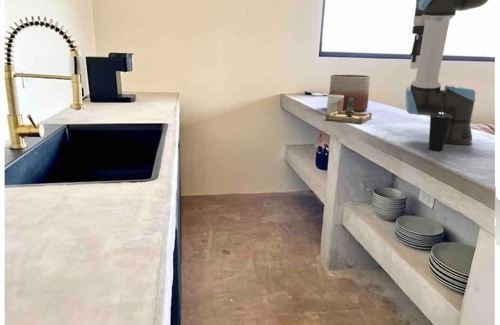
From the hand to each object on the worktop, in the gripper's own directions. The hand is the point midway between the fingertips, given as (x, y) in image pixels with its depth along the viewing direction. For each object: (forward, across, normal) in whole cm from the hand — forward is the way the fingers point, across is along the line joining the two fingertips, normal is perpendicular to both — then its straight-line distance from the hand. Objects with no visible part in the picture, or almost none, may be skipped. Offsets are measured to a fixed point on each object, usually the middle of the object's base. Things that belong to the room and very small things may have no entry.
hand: (415, 68), depth 194 cm
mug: (+29, +8, +44) cm, 53 cm away
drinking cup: (+29, -58, -20) cm, 68 cm away
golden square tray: (+29, -9, +30) cm, 42 cm away
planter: (+29, +29, +43) cm, 59 cm away
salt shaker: (+28, -9, +30) cm, 42 cm away
